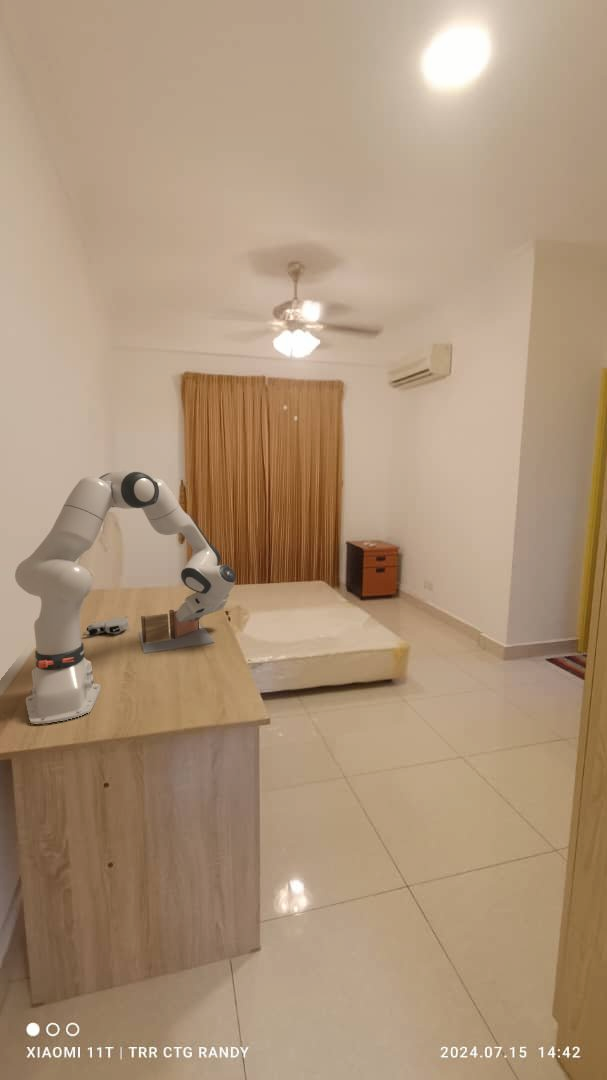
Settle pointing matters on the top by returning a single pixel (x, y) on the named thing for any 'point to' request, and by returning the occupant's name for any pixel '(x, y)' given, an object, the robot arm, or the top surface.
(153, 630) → the fence fixed
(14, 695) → the top surface
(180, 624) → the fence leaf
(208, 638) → the board
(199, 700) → the top surface
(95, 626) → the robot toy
